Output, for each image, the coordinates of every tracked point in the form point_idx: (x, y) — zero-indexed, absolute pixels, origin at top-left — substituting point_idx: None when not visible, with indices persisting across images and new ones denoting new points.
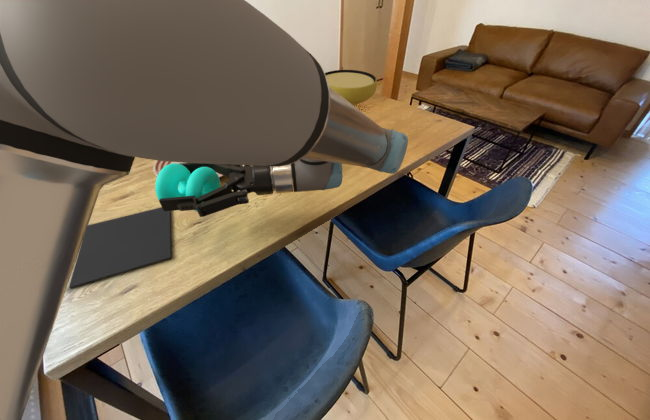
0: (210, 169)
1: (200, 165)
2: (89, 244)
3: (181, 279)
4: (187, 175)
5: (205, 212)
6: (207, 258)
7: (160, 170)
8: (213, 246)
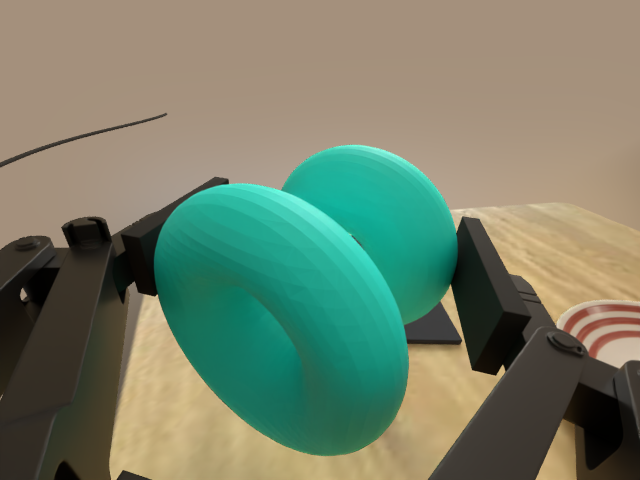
0: (322, 290)
1: (487, 297)
2: (356, 241)
3: (174, 357)
4: (387, 250)
5: (34, 303)
6: (197, 427)
7: (613, 317)
8: (238, 454)
